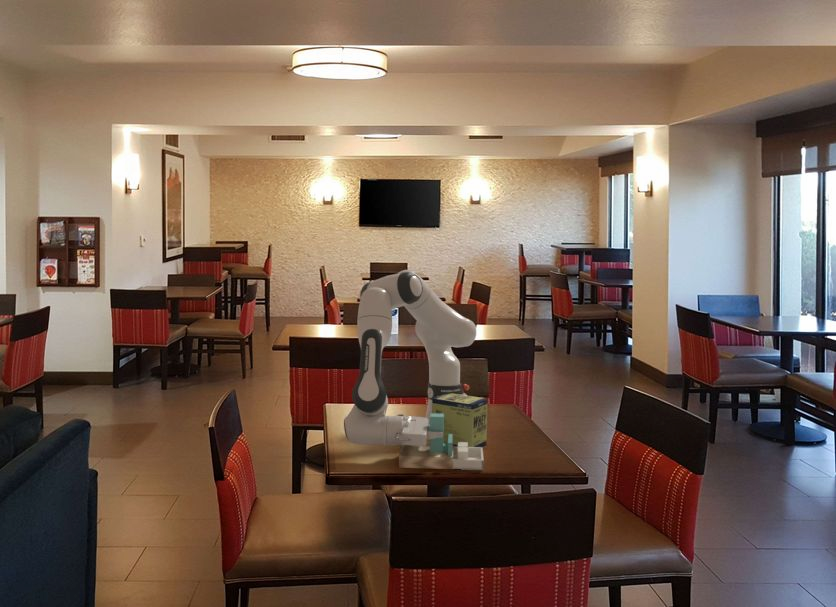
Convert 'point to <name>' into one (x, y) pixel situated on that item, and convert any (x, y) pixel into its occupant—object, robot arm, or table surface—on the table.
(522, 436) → the table surface
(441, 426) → the teal uneven u-shaped block
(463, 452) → the white small block
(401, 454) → the board
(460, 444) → the tile
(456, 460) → the tray
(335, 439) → the table surface
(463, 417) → the protein box
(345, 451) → the table surface
